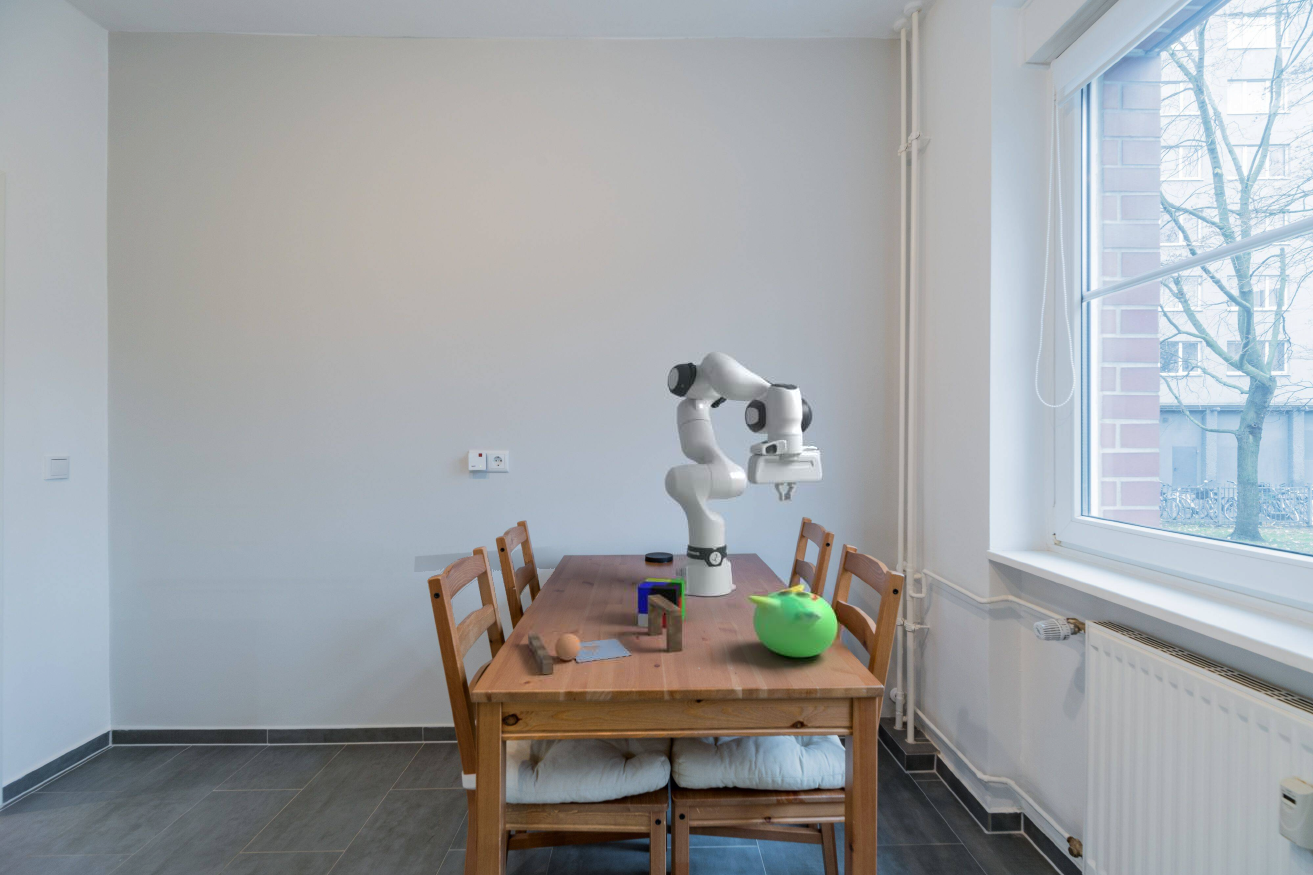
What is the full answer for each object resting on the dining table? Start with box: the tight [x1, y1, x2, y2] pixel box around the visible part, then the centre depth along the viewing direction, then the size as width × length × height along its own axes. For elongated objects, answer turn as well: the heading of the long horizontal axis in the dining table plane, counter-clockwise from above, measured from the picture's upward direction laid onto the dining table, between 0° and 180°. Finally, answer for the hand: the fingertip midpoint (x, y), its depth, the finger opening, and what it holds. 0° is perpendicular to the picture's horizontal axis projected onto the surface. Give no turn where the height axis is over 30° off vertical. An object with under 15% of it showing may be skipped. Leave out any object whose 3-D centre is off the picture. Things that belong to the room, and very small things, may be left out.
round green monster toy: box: [747, 584, 838, 658], centre depth 139 cm, size 18×17×15 cm
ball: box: [554, 633, 581, 661], centre depth 138 cm, size 6×6×6 cm
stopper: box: [527, 632, 554, 675], centre depth 139 cm, size 20×2×2 cm, turn 20°
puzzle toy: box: [637, 578, 686, 629], centre depth 165 cm, size 10×10×10 cm
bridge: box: [647, 595, 683, 653], centre depth 149 cm, size 3×14×9 cm, turn 20°
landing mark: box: [574, 638, 632, 664], centre depth 143 cm, size 12×12×1 cm
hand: (785, 500), depth 163 cm, fingers closed
